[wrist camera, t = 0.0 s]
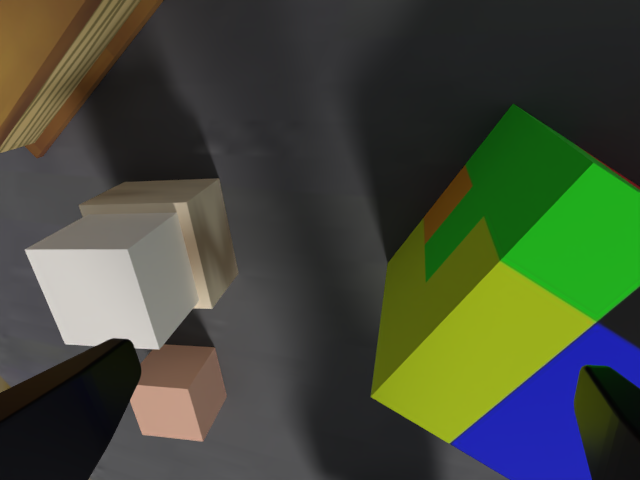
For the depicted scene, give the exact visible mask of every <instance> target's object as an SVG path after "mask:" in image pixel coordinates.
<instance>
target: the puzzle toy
mask: <svg viewBox="0 0 640 480" xmlns="http://www.w3.org/2000/svg"><path fill="white" fill-rule="evenodd" d="M584 365H600V366H608V367H611V368H612V369H614V370H615V371H617V372H618V373H619V374H621V375H622V376H623V377H625V378H626V379H627V380H629V381H630V382H632V383H633V384H634V385H636V386H637V387H638V388H640V187H639V186H638V185H636V184H635V183H633V182H632V181H630V180H629V179H627V178H626V177H624V176H623V175H621V174H620V173H618V172H616V171H615V170H613V169H612V168H610V167H609V166H607V165H606V164H604V163H603V162H601V161H600V160H598V159H597V158H595V157H594V156H592V155H591V154H589V153H588V152H586V151H585V150H583V149H582V148H580V147H579V146H577V145H575V144H574V143H572V142H571V141H569V140H568V139H566V138H565V137H563V136H562V135H560V134H559V133H557V132H556V131H554V130H553V129H551V128H550V127H548V126H547V125H545V124H544V123H542V122H541V121H539V120H537V119H536V118H534V117H533V116H531V115H530V114H528V113H527V112H525V111H524V110H522V109H521V108H519V107H518V106H516V105H515V104H512V106H511V107H510V108H509V109H508V111H507V112H506V113H505V115H504V116H503V117H502V118H501V120H500V121H499V122H498V123H497V125H496V126H495V127H494V129H493V130H492V131H491V132H490V134H489V135H488V136H487V137H486V139H485V140H484V141H483V143H482V144H481V145H480V146H479V148H478V149H477V150H476V151H475V153H474V154H473V155H472V157H471V158H470V159H469V160H468V162H467V163H466V164H465V165H464V167H463V168H462V169H461V171H460V172H459V173H458V174H457V176H456V177H455V178H454V179H453V181H452V182H451V183H450V185H449V186H448V187H447V188H446V190H445V191H444V192H443V193H442V195H441V196H440V197H439V199H438V200H437V201H436V202H435V204H434V205H433V206H432V207H431V209H430V210H429V211H428V213H427V214H426V215H425V216H424V218H423V219H422V220H421V221H420V223H419V224H418V225H417V227H416V228H415V229H414V230H413V232H412V233H411V234H410V235H409V237H408V238H407V239H406V241H405V242H404V243H403V244H402V246H401V247H400V248H399V249H398V251H397V252H396V253H395V255H394V256H393V257H392V258H391V260H390V261H389V262H388V265H387V273H386V281H385V288H384V296H383V304H382V312H381V319H380V327H379V335H378V343H377V351H376V358H375V366H374V374H373V382H372V389H371V397H372V398H373V399H375V400H377V401H378V402H380V403H382V404H383V405H385V406H387V407H388V408H390V409H392V410H394V411H395V412H397V413H399V414H400V415H402V416H404V417H405V418H407V419H409V420H410V421H412V422H414V423H415V424H417V425H419V426H420V427H422V428H424V429H425V430H427V431H429V432H431V433H432V434H434V435H436V436H437V437H439V438H441V439H442V440H444V441H446V442H447V443H449V444H451V445H452V446H454V447H456V448H457V449H459V450H461V451H462V452H464V453H466V454H467V455H469V456H471V457H473V458H474V459H476V460H478V461H479V462H481V463H483V464H484V465H486V466H488V467H489V468H491V469H493V470H494V471H496V472H498V473H499V474H501V475H503V476H504V477H506V478H508V479H510V480H592V478H591V474H590V471H589V467H588V463H587V459H586V455H585V451H584V447H583V443H582V439H581V436H580V432H579V428H578V424H577V420H576V416H575V412H574V397H575V392H576V387H577V382H578V377H579V372H580V369H581V367H582V366H584Z"/></svg>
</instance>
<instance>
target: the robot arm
mask: <svg viewBox="0 0 640 480" xmlns="http://www.w3.org/2000/svg"><path fill="white" fill-rule="evenodd" d="M141 372H142V370H141V365H140V362H139V359H138V356H137V353H136V350H135V347H134V345H133V343H132V342H131V340H129V339H122V338H112V339H109V340H107V341H105V342H103V343H101V344H99V345H97V346H95V347H93V348H91V349H89V350H87V351H85V352H83V353H80V354H78V355H76V356H74V357H72V358H70V359H68V360H66V361H64V362H62V363H60V364H58V365H56V366H54V367H52V368H50V369H48V370H46V371H44V372H42V373H40V374H38V375H36V376H34V377H32V378H30V379H28V380H26V381H24V382H22V383H19V384H17V385H15V386H13V387H11V388H9V389H8V390H5V391H3V392H1V393H0V480H88V479H89V477H90V475H91V474H92V472H93V470H94V469H95V467H96V465H97V464H98V462H99V460H100V459H101V457H102V455H103V453H104V452H105V450H106V448H107V446H108V445H109V443H110V441H111V439H112V437H113V435H114V433H115V431H116V429H117V427H118V424H119V422H120V420H121V418H122V416H123V414H124V412H125V410H126V408H127V406H128V403H129V401H130V399H131V397H132V395H133V393H134V391H135V389H136V387H137V385H138V382H139V380H140V378H141ZM574 412H575V416H576V420H577V424H578V428H579V432H580V436H581V439H582V443H583V447H584V451H585V455H586V459H587V463H588V467H589V471H590V474H591V478H592V480H640V388H638V387H637V386H636V385H634V384H633V383H632V382H630V381H629V380H627V379H626V378H625V377H623V376H622V375H621V374H619V373H618V372H617V371H615V370H614V369H612V368H611V367H608V366H600V365H584V366H582V367H581V369H580V372H579V377H578V382H577V387H576V392H575V397H574Z"/></svg>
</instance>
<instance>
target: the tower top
mask: <svg viewBox="0 0 640 480" xmlns="http://www.w3.org/2000/svg"><path fill="white" fill-rule="evenodd" d="M25 251H26V254H27V256H28V258H29V261H30V263H31V265H32V268H33V270H34V272H35V275H36V277H37V279H38V282H39V284H40V286H41V289H42V291H43V293H44V296H45V298H46V300H47V303H48V305H49V307H50V310H51V312H52V314H53V317H54V319H55V321H56V324H57V326H58V328H59V331H60V333H61V335H62V338H63V340H64V342H65V344H70V345H88V346H97V345H99V344H101V343H103V342H105V341H107V340H109V339H112V338H122V339H129V340H131V342H132V343H133V345H134V347H135V348H140V349H158V350H160V348H161V347H162V346H163V345H164V343H165V342H166V341H167V340H168V339H169V337H170V336H171V335H172V334H173V332H174V331H175V330H176V329H177V327H178V326H179V325H180V324H181V323H182V321H183V320H184V319H185V318H186V316H187V315H188V314H189V313H190V311H191V310H192V309H193V308H194V307H195V305H196V304H197V303H198V302H199V297H198V293H197V289H196V285H195V281H194V277H193V273H192V269H191V265H190V261H189V258H188V254H187V250H186V246H185V242H184V238H183V234H182V230H181V226H180V222H179V218H178V214H177V212H175V213H130V214H88V215H86V216H84V217H83V218H81V219H79V220H77V221H75V222H74V223H72V224H70V225H68V226H66V227H65V228H63V229H61V230H59V231H57V232H56V233H54V234H52V235H50V236H48V237H46V238H45V239H43V240H41V241H39V242H37V243H36V244H34V245H32V246H30V247H28V248H27V249H25Z"/></svg>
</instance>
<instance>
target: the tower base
mask: <svg viewBox="0 0 640 480" xmlns="http://www.w3.org/2000/svg"><path fill="white" fill-rule="evenodd" d="M79 208H80V211H81V214H82V216H83V217H84V216H86V215H88V214H130V213H175V212H177V214H178V218H179V222H180V226H181V230H182V234H183V238H184V242H185V246H186V250H187V254H188V258H189V261H190V265H191V269H192V273H193V277H194V281H195V285H196V289H197V293H198V297H199V302H198V303H197V304H196V305H195V307H194V308H203V309H212V308H213V307H214V306H215V304H216V303H217V302H218V300H219V299H220V297H221V296H222V295H223V293H224V292H225V291H226V289H227V288H228V287H229V285H230V284H231V283H232V281H233V280H234V279H235V277H236V276H237V275H238V269H237V264H236V259H235V254H234V249H233V244H232V239H231V234H230V229H229V224H228V219H227V214H226V210H225V205H224V200H223V195H222V190H221V185H220V180H219V178H215V179H189V180H164V181H138V182H123V183H121V184H119V185H117V186H115V187H113V188H111V189H109V190H108V191H106V192H104V193H102V194H100V195H98V196H96V197H94V198H92V199H90V200H88V201H86V202H84V203H82V204H80V205H79Z"/></svg>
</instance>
